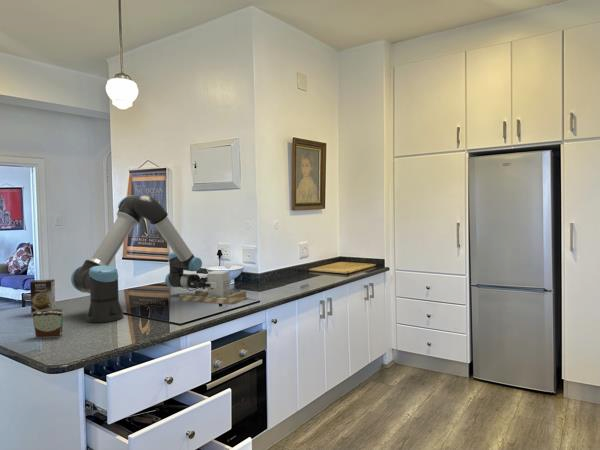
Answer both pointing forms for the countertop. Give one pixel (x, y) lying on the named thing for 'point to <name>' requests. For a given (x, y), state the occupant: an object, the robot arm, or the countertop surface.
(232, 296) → the wooden cutting board
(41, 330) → the food container
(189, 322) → the countertop surface
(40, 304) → the coffee box
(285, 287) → the countertop surface
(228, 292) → the supplement box
